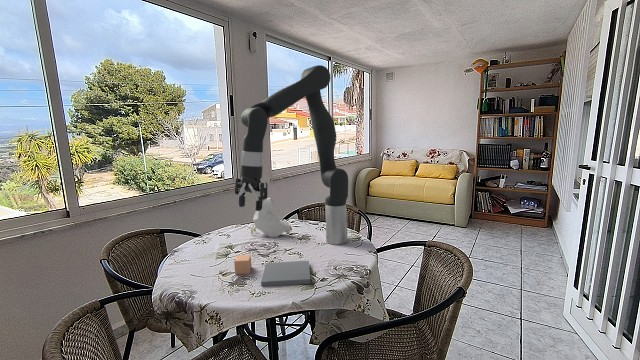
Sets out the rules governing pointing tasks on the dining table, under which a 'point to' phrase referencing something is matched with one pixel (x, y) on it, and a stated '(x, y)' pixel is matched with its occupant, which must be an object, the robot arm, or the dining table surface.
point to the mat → (286, 273)
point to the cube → (242, 264)
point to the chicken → (269, 221)
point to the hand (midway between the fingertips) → (250, 208)
